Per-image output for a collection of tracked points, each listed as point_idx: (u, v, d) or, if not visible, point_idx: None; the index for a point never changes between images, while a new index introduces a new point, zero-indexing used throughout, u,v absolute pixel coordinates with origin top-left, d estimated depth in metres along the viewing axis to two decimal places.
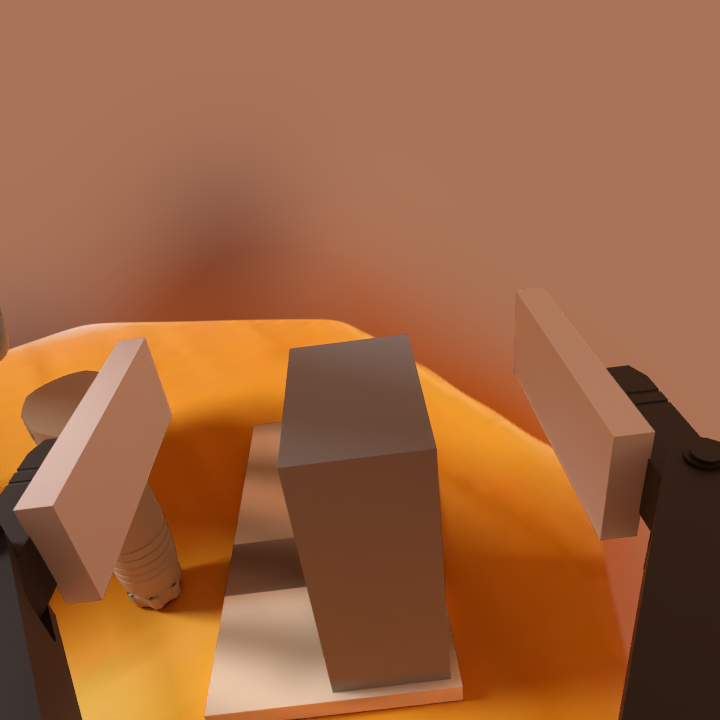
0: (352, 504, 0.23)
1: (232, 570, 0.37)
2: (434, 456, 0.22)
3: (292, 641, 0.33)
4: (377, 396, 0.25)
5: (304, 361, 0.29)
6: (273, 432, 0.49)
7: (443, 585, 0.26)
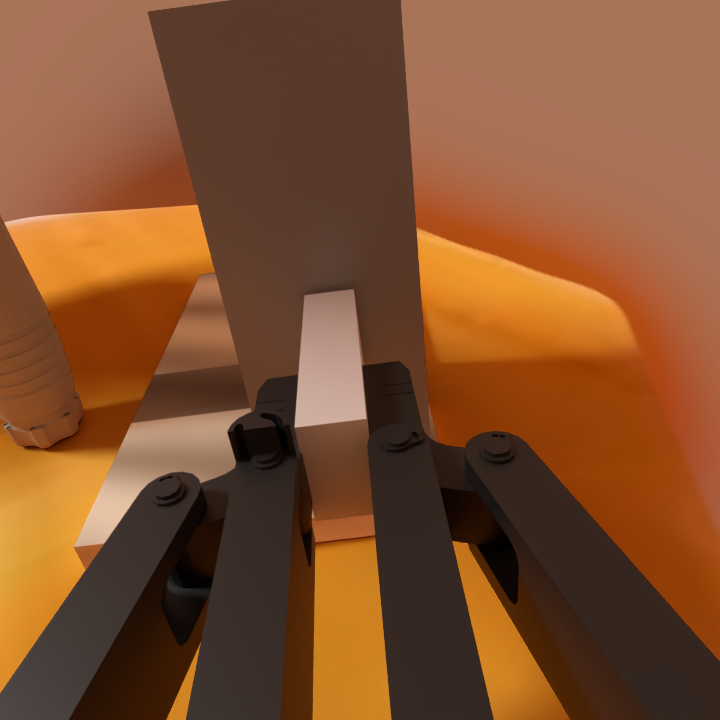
0: (273, 103, 0.15)
1: (147, 398, 0.28)
2: None
3: (214, 463, 0.23)
4: None
5: None
6: None
7: (417, 281, 0.18)
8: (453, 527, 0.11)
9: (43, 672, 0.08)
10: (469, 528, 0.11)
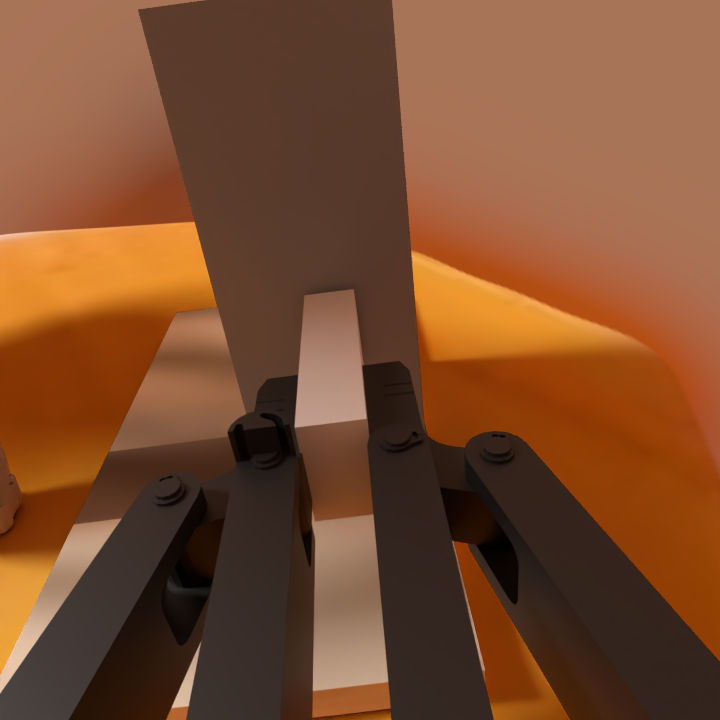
0: (264, 101, 0.15)
1: (97, 486, 0.23)
2: None
3: None
4: None
5: None
6: (201, 319, 0.34)
7: (410, 280, 0.18)
8: (454, 526, 0.11)
9: (43, 672, 0.08)
10: (469, 528, 0.11)
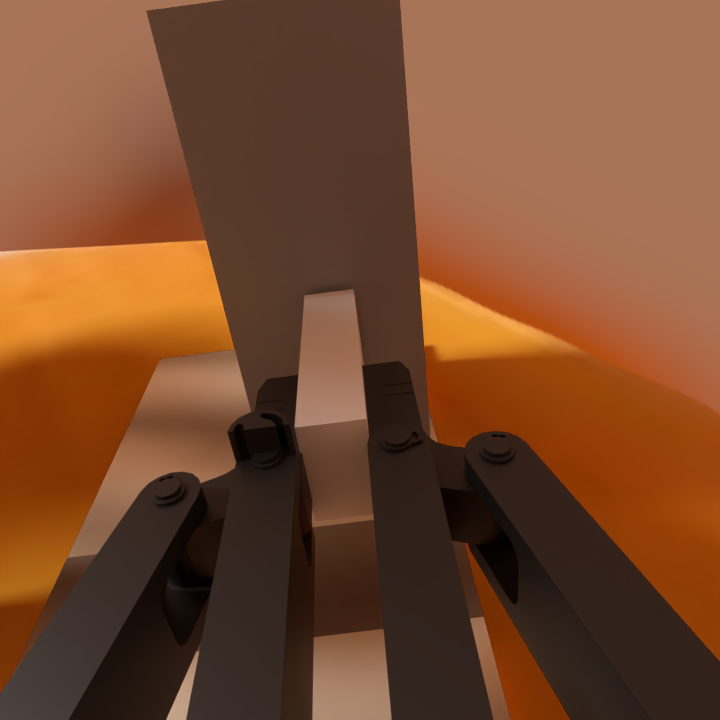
0: (272, 102, 0.15)
1: (48, 612, 0.18)
2: None
3: None
4: None
5: None
6: (188, 368, 0.30)
7: (417, 281, 0.18)
8: (453, 526, 0.11)
9: (43, 672, 0.08)
10: (469, 528, 0.11)
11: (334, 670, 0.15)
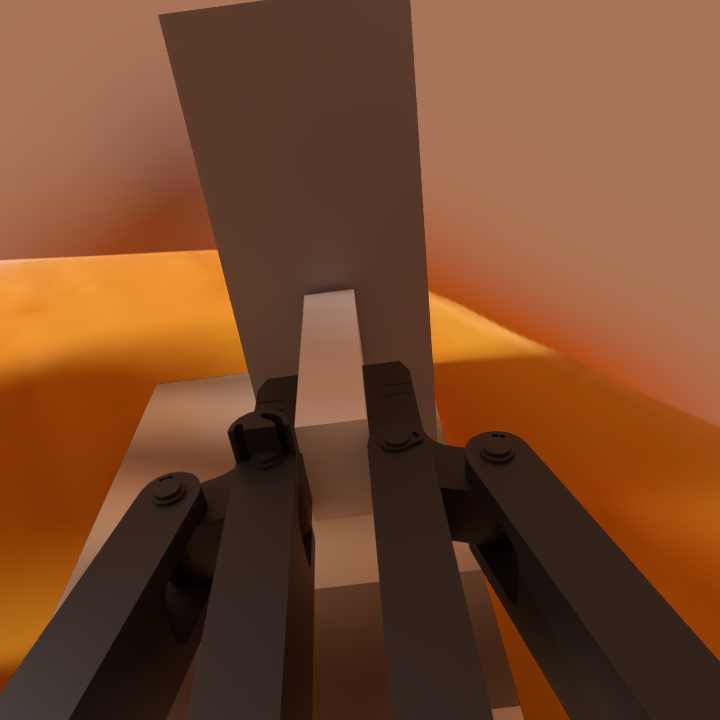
0: (282, 106, 0.15)
1: None
2: (407, 1, 0.14)
3: None
4: None
5: None
6: (186, 395, 0.28)
7: (425, 284, 0.18)
8: (454, 526, 0.11)
9: (43, 672, 0.08)
10: (469, 528, 0.11)
11: None
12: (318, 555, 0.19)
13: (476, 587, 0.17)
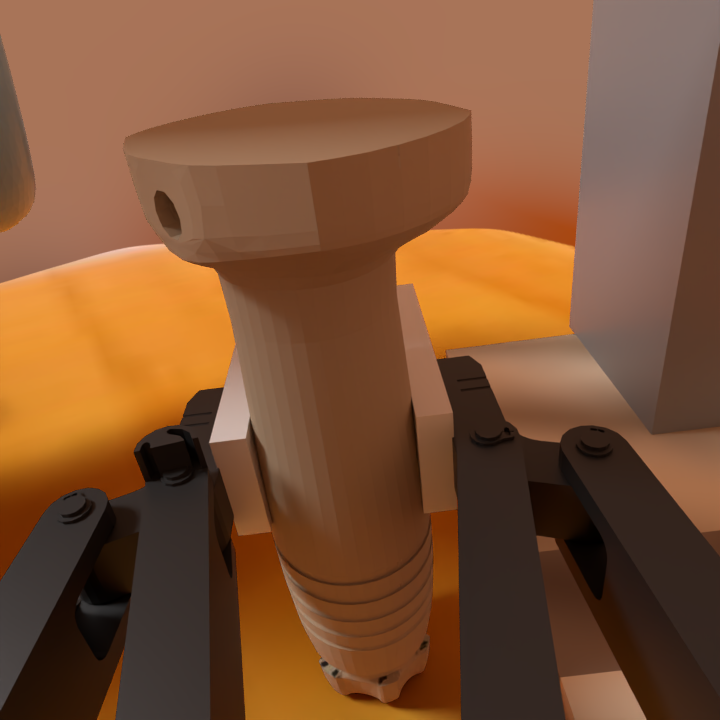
0: None
1: None
2: None
3: None
4: None
5: None
6: (486, 359, 0.29)
7: None
8: (545, 522, 0.11)
9: None
10: (562, 523, 0.11)
11: None
12: None
13: None
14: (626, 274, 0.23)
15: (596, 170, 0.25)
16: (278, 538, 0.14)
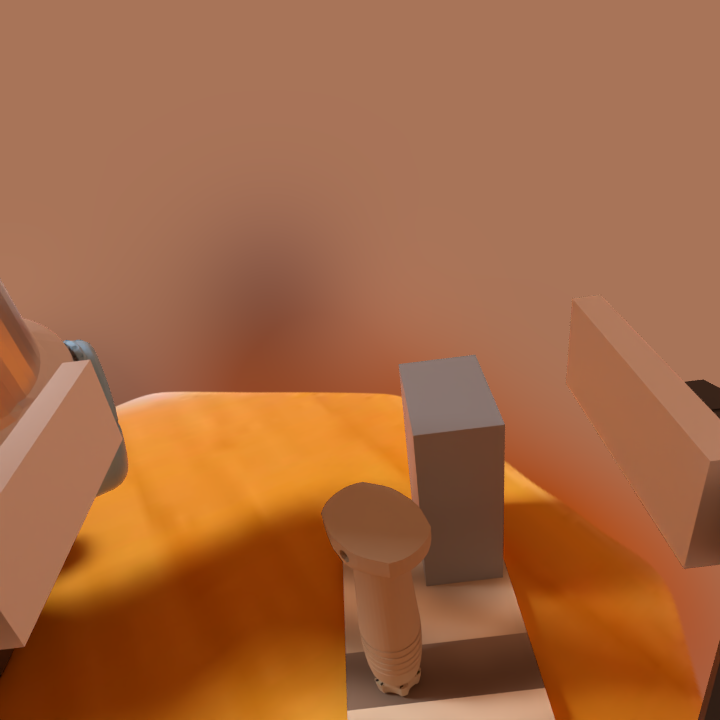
0: (453, 458, 0.40)
1: (349, 682, 0.40)
2: (503, 429, 0.39)
3: None
4: (463, 394, 0.42)
5: (410, 372, 0.45)
6: None
7: (502, 511, 0.42)
8: None
9: None
10: None
11: (485, 710, 0.38)
12: (455, 624, 0.43)
13: (525, 640, 0.41)
14: None
15: (407, 444, 0.48)
16: (363, 634, 0.36)
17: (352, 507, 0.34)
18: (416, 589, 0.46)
